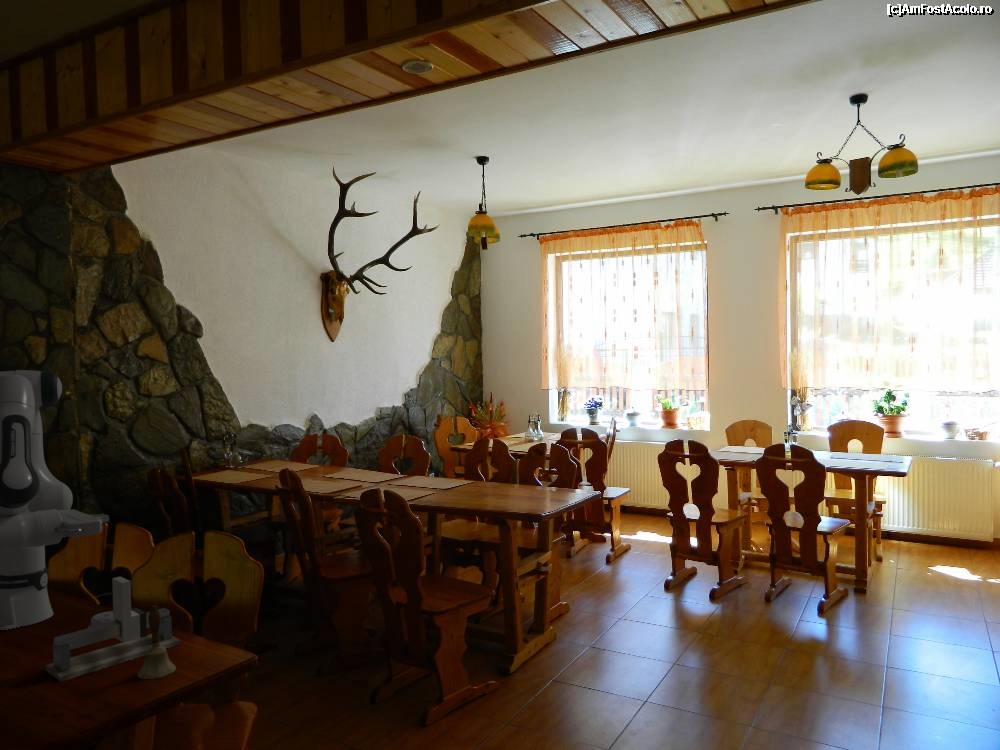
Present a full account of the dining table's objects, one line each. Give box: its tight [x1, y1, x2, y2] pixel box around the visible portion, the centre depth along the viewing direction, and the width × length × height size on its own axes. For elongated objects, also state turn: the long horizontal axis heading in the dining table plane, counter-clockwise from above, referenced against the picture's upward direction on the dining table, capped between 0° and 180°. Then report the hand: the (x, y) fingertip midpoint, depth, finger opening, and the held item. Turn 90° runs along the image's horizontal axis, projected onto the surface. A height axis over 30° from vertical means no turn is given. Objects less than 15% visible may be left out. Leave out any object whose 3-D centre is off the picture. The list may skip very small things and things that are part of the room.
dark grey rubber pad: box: [131, 607, 148, 638], centre depth 185 cm, size 2×6×6 cm, turn 49°
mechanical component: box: [86, 610, 114, 629], centre depth 200 cm, size 10×4×10 cm
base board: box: [45, 633, 181, 683], centre depth 181 cm, size 28×10×1 cm, turn 139°
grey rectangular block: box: [111, 576, 140, 643], centre depth 183 cm, size 4×6×15 cm, turn 49°
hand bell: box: [137, 604, 177, 680], centre depth 172 cm, size 8×8×16 cm
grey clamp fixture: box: [52, 607, 173, 672], centre depth 181 cm, size 26×5×7 cm, turn 139°
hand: (107, 517), depth 196 cm, fingers closed
